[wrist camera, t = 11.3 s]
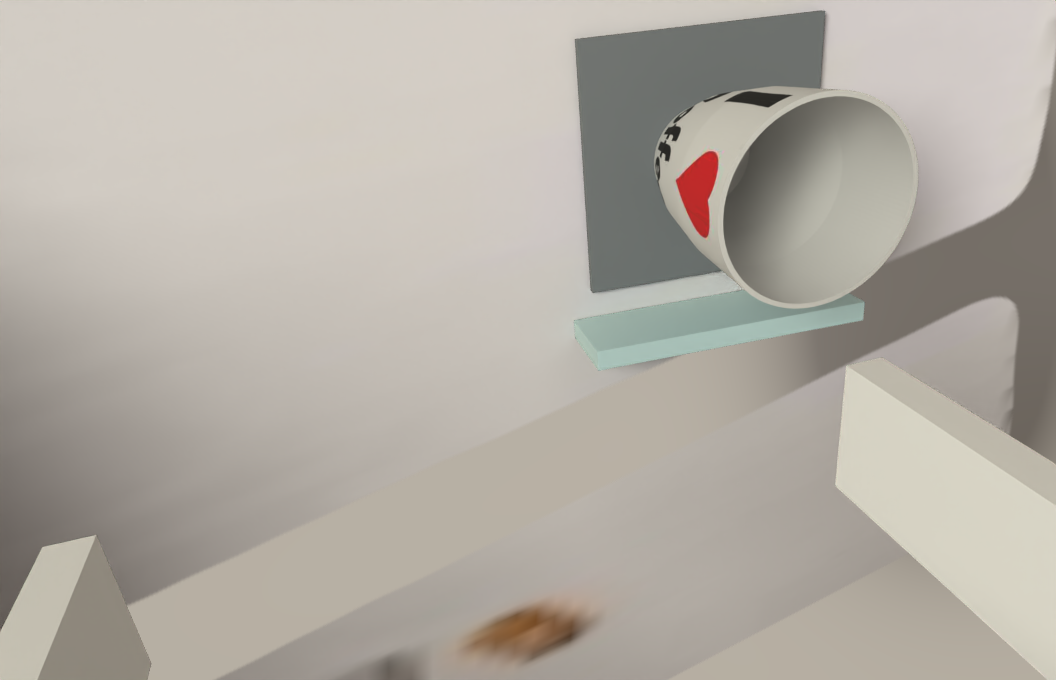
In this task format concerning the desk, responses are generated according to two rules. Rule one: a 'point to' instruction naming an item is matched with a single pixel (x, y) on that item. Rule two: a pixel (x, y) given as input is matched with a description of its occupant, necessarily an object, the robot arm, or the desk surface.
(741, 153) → the cup
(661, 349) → the wall
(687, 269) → the mat
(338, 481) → the desk surface
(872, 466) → the robot arm
